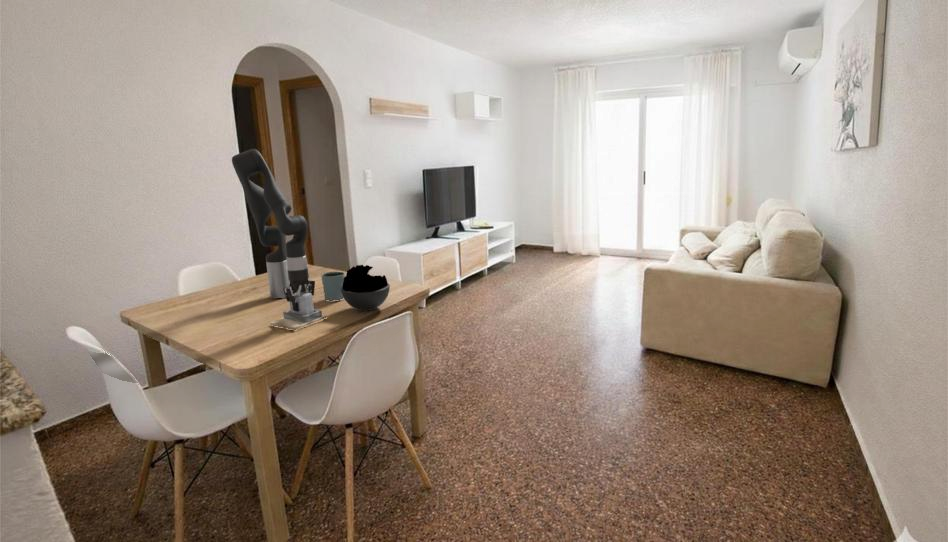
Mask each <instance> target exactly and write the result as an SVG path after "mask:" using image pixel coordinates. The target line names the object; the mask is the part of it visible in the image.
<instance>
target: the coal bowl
mask: <svg viewBox="0 0 948 542" xmlns="http://www.w3.org/2000/svg"><path fill="white" fill-rule="evenodd" d="M373 268H374V267H373V266H370V265H368V264H366V265H364V264H358V265H356V266H354V265H353V266H352V267H350V268H349V269H348V270H347V271H346V275H345V277H344V281H343V286H342V288H341V292H342V295H343V297H344V301H345V302H346V303H347V304H348V305H349V306H351V307H352V308H354V309H355V310H360V311H371V310H370V309H372V310H374V308H375V309H376V308H379V307H380V306H381V305H383V303H384V302H386V300H387V298H388V296H389V293H390V287H391V286H390V284H389V283H388V280H387V277H386V275H371V274H369V272H370V271H371V270H372V269H373Z"/></svg>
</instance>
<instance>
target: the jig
mask: <svg viewBox="0 0 948 542" xmlns="http://www.w3.org/2000/svg"><path fill="white" fill-rule="evenodd" d="M282 314H283V315H282V316H283V317H281V318H279V319H275V320H273V321H270V323H269V325H273V326H278V327H283V328H288V329H293V330H296V329H299V328H301V327H304V326H306V325H309V324H311V323H314V322H316V321H319V320H321V319H324V318H326V317H327V318H328V315H326V314H323V312H322V310H320V309H315V308H314V312H313V313H310V314H308V315H301V314H296V313H291V309H289V310H286V311H283V313H282ZM273 326H272V327H273Z"/></svg>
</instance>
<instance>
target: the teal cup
mask: <svg viewBox="0 0 948 542" xmlns="http://www.w3.org/2000/svg"><path fill="white" fill-rule="evenodd" d="M344 277H346V275H345V272H343V271H329V272H324V273H322V274H321V282H322V285H323V287H322V289H323V294H324V301H325V300H329V301H333V300H340V299H343V298H344V297H343V295H342V292H341V288H342V286H343V281H344Z"/></svg>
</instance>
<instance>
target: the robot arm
mask: <svg viewBox="0 0 948 542" xmlns="http://www.w3.org/2000/svg"><path fill="white" fill-rule="evenodd" d="M231 163H232V167H233V169H234V171H235V174H236V176H237V178H238V180H239V183H240V184H241V187H242V189H243V193H244V197H245V198H246V202H247V204H248V207H249V209H250V212H251V215H252V217H253V220H254V223H255V226H256V230H257V235H258V238H259V241H260V242H259V243H260V244H261V245H262V246H263V247H278V248H277V249H276V250H275V251H273V252H270V253H268V254H266V256H265V262H266V271H267V272H266V273H267V281H268V286H269V296H270V299H273V298H276V299H275V300H278V299H277V298H282V299H286V301H287V302H289V303H290V302H292V306H293V310H294V311H296V312H298V311H299V306H298V297H299V296H300V293H311V294H312V297H313V296H314V295H315V287H316V286H315V285H316V282H315V280H309V278H310V277H309V276H310V275H309V266H308V259H307V253H306V241H307V235H308V228H309V227H308V221H307V220H306V218H305V217H304V216H303V215H299V214H298V215H297V214H296V215H290V216H288V215H289V214H290V213H291V211H292V206H291V203H290V202H289V201H288V200H287V198H286V196H285V195H284V194H283V192H282V190H281V188H280V187H279V185H278V183H277V181H276V179H275V177H274V175H273V173H272V171H271V169H270V168H269V166H268V163H267V162H266V160H265V159H264V157H263V155H262V153H260V151H259V150H258V149H256V148H251V149H248V150H246V151H243V152H240V153H237V154H235V155H233V156H232V157H231ZM260 173H261V174H262V176H263V181H264V183H263V187H261V186H260V185H258V184H256V183H254V181H251V180H250V177H252V176H255V175H258V174H260ZM272 213H273V215H274V220H275V222H276V225H270V226H268V225H266V224H267V221H268V220H269V218H270V217H271V215H272ZM289 236H292V239H290V240H288V241H287V238H286V237H289ZM295 293H297V294H295Z"/></svg>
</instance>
